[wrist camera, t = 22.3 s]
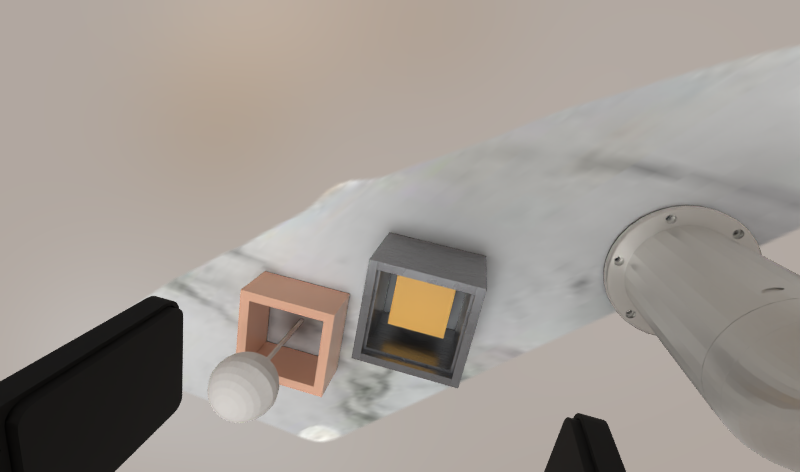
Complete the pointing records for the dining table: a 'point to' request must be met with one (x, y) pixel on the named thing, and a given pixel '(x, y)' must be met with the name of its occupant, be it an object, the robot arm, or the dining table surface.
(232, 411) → the lollipop
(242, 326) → the tool holder
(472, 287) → the box
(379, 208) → the dining table surface
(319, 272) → the dining table surface
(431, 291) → the tan square block
